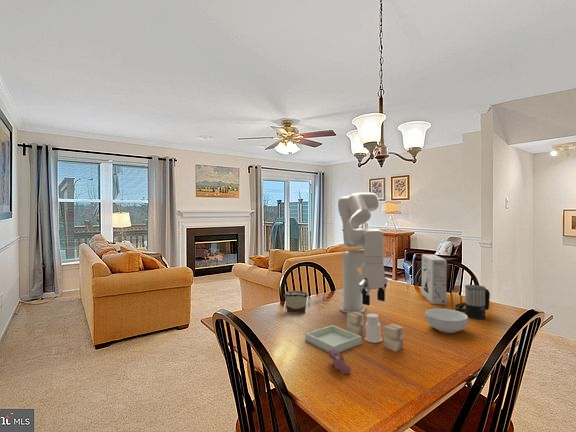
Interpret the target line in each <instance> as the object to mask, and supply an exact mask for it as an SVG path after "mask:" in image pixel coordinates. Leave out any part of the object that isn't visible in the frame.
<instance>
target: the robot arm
mask: <svg viewBox="0 0 576 432" xmlns="http://www.w3.org/2000/svg"><path fill="white" fill-rule="evenodd" d="M379 203H380V199H379V197H378V195H377V194H376V193H373V192H355V193H352V194H350V195H347V196H346V195H345V196H341V197H340V198H339V199H338V202H337V207H338V208H337V209H338V213H339V216H340V217H341V218H340V219H341V221H342V237H343V238H342V239H343V243H344V246H345V247H346V248H350V249H348V250H345V251H343V252H342V254H341V264H342V273H343V276H342V277H343V279H342V280H343V282H342V286H343V289H342V290H343V292H342V293H343V295H342V296H343V298H342V300H343V303H342V305H341V306H340V312H342V313H345V314H347V313H351V312H354V311H355V312H358V313H361V314H364V313H365V311H366V309H365V307H364V305H366V306H370V304H371V303H370V302H371V301H370V300H371V297H370V296H371V295H370V292H371V291H373V290H377V291H376V292H377V293H376V295H377V301H380V302H385V301H386V299H385V298H386V296H385V295H386V290H387V289H386V288H387V286H388V285H387V284H388V281H389V280H388V279H387V278H386V277H385V276H386V275H385V274H386V273H385V265H384V232H383V231H382V230H380V229H378V228H367V227H366V228H360V226H361V225H363V224H366V223H367V222H368V221H369V220H370V219H371V218H372V213H371V212H373V211H376V210H377V209H378V208H379ZM351 248H353V249H351ZM355 248H361V249H355ZM358 269H361V272H359V270H358Z"/></svg>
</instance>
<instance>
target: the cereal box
mask: <svg viewBox="0 0 576 432" xmlns="http://www.w3.org/2000/svg"><path fill="white" fill-rule="evenodd" d="M447 263H448V261H447V259H445V258H442V257H441V256H438V255H436V254H431V253H430V254H428V253H427V254H424V253H423V254H421V295H422V296H423V297H424V298H425V299H426V300H427V301H428V302H430V304H431V305H445V306H447V277H448V276H447V271H448V270H447V265H448V264H447Z"/></svg>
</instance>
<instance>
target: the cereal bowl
mask: <svg viewBox="0 0 576 432" xmlns="http://www.w3.org/2000/svg"><path fill="white" fill-rule="evenodd" d="M425 320H426V322H427V324H428V325H430V327H432V328H434V329H436V330H437V331H439V332H441V333H445V334H454V333H457V332H460V331H462V330H465V328H467V325H468V324H469V323H468V322H469V317H467V315H466V314H465V312H463V311H459V310H456V309H450V308H429V309H427V310H426V311H425Z"/></svg>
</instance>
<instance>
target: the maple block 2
mask: <svg viewBox="0 0 576 432" xmlns="http://www.w3.org/2000/svg"><path fill="white" fill-rule="evenodd" d="M383 348H386V349H388V350H391V351H394V352H397V351H400V350H402V349H403V348H404V327H403V326H401V325H397V324H394V323H390V324H387V325H384V326H383Z"/></svg>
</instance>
